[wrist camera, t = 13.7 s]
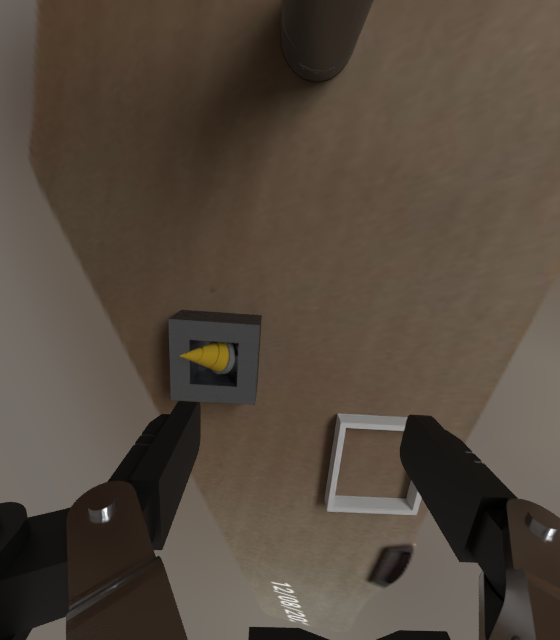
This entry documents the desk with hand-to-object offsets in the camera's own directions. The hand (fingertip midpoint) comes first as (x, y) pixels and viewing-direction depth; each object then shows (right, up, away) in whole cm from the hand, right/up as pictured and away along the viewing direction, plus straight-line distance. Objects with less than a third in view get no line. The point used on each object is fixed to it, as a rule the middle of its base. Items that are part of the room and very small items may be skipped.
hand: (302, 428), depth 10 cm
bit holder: (-10, -1, +33) cm, 35 cm away
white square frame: (+17, -22, +39) cm, 48 cm away
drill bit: (-11, -1, +32) cm, 34 cm away
